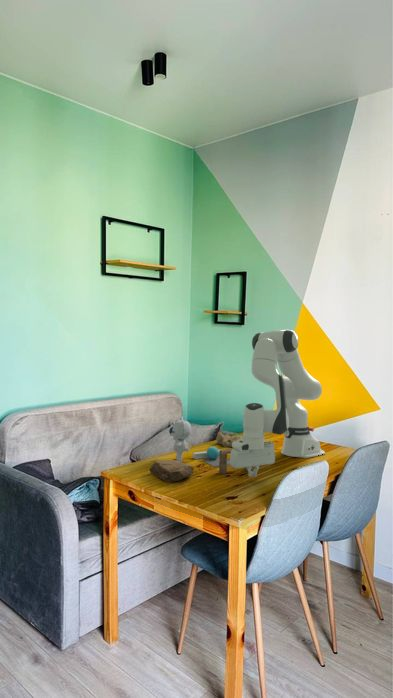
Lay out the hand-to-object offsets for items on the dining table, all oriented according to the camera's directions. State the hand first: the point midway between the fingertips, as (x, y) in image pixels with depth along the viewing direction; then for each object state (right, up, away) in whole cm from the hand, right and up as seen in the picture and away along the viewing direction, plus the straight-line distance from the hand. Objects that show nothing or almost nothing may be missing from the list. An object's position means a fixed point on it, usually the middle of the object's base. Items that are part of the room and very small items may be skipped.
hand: (252, 476), depth 195 cm
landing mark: (-13, 0, +26) cm, 29 cm away
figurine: (-3, 0, +59) cm, 59 cm away
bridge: (-6, -1, +12) cm, 14 cm away
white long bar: (-17, 0, +35) cm, 39 cm away
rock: (-34, -1, +2) cm, 34 cm away
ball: (-15, +3, +31) cm, 34 cm away
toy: (-31, 0, +27) cm, 41 cm away
